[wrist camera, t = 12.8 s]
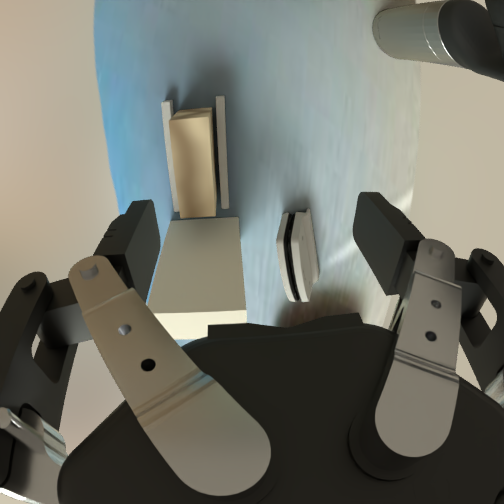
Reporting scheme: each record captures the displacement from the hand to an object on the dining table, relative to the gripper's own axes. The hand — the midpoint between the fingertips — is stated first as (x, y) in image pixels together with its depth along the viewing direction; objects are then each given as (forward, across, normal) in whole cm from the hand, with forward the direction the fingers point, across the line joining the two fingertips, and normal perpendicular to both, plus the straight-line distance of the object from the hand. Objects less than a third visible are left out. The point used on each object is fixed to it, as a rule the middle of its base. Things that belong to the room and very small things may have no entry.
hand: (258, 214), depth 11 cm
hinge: (+36, -11, +28) cm, 47 cm away
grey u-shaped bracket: (+36, +6, +12) cm, 38 cm away
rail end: (+36, +6, +8) cm, 37 cm away
